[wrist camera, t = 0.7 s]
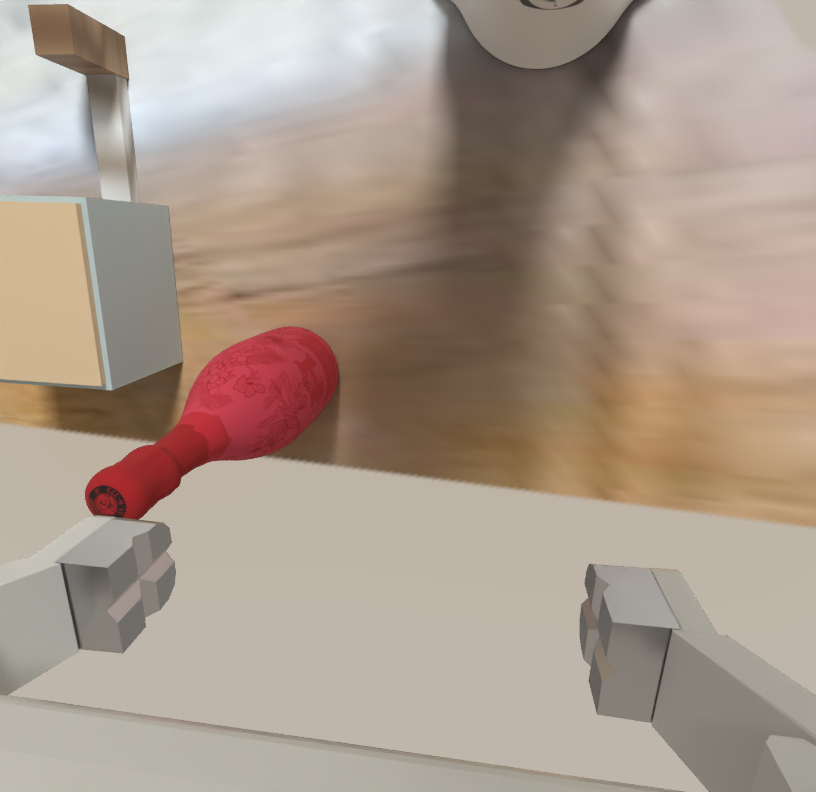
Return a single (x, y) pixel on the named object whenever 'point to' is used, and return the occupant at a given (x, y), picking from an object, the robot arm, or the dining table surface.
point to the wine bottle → (226, 418)
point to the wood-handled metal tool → (95, 87)
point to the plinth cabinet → (85, 292)
